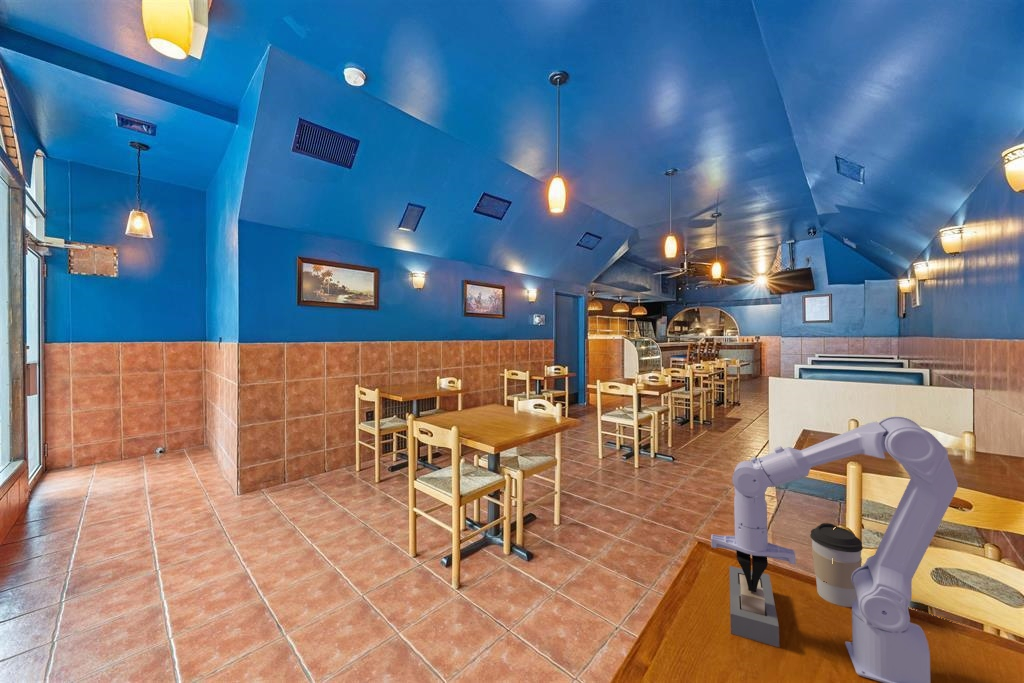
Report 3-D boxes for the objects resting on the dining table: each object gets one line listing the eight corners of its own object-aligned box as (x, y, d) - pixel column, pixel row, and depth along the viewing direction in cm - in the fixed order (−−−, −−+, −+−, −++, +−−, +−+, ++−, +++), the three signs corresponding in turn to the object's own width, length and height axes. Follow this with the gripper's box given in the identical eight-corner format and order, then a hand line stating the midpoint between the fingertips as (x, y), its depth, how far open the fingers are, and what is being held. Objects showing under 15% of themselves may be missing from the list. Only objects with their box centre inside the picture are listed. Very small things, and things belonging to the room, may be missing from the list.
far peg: (760, 594, 89) (759, 578, 89) (761, 605, 85) (761, 588, 85) (739, 589, 91) (739, 574, 91) (740, 599, 87) (740, 583, 87)
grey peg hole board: (769, 591, 90) (769, 574, 90) (779, 647, 74) (778, 626, 74) (729, 582, 94) (729, 565, 94) (730, 633, 78) (730, 613, 78)
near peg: (763, 605, 81) (762, 588, 81) (765, 617, 77) (764, 599, 77) (740, 599, 83) (740, 582, 83) (741, 611, 79) (741, 593, 79)
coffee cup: (874, 612, 82) (873, 542, 82) (825, 608, 84) (824, 538, 84) (847, 586, 91) (845, 521, 91) (803, 582, 93) (801, 519, 93)
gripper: (791, 521, 80) (792, 587, 80) (711, 508, 87) (712, 569, 87) (796, 537, 74) (798, 608, 74) (710, 521, 81) (711, 587, 81)
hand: (752, 588), depth 80 cm, fingers closed
